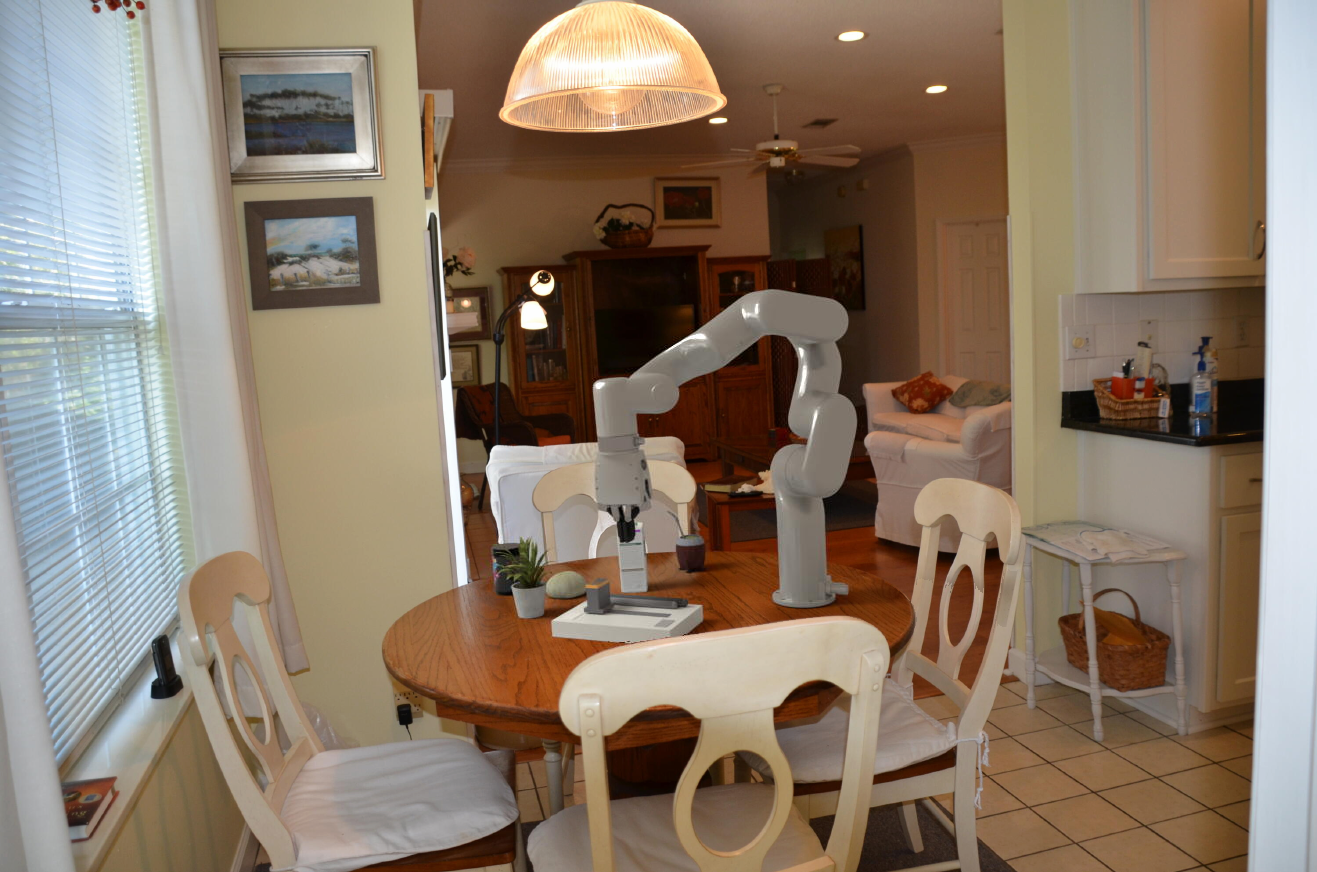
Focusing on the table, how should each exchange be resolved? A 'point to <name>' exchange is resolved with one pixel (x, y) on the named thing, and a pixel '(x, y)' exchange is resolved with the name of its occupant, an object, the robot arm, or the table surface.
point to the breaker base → (630, 620)
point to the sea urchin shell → (566, 585)
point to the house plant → (528, 580)
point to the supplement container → (500, 578)
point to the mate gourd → (690, 550)
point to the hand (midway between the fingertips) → (627, 540)
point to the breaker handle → (598, 596)
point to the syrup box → (633, 562)
